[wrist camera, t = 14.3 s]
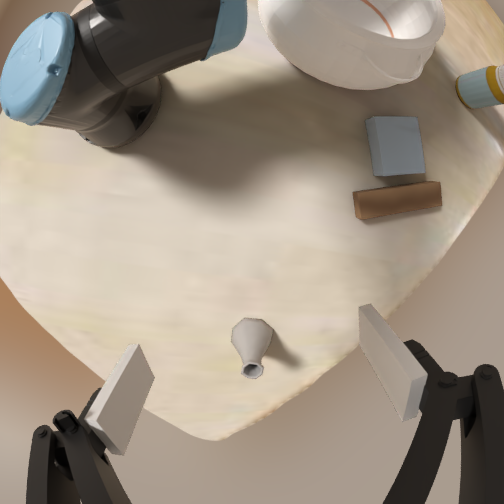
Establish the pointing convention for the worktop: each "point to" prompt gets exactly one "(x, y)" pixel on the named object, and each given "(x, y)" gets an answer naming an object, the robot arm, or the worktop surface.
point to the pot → (355, 38)
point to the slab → (395, 145)
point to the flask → (251, 344)
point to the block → (396, 199)
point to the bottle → (482, 87)
